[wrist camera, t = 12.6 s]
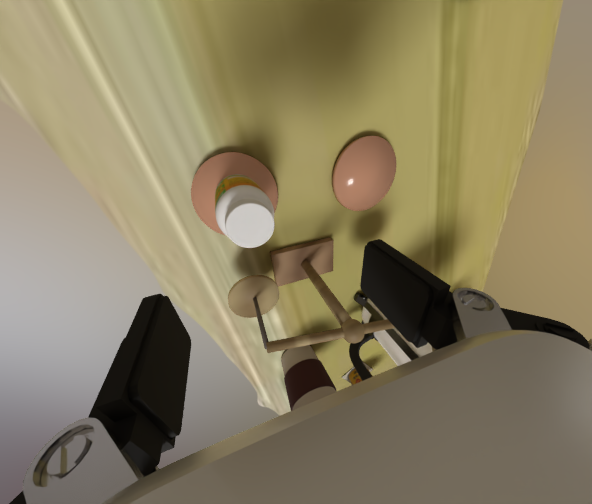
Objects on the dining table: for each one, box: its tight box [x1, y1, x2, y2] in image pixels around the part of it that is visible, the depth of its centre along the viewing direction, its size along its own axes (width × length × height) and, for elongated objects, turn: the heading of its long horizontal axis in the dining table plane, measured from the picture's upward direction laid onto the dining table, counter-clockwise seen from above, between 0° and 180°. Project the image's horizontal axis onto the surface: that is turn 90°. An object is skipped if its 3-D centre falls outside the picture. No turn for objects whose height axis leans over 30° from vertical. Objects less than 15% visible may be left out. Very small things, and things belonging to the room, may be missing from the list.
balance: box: [228, 237, 395, 353], centre depth 27 cm, size 24×7×17 cm, turn 95°
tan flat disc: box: [191, 152, 278, 235], centre depth 26 cm, size 10×10×1 cm
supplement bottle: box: [215, 174, 274, 248], centre depth 21 cm, size 5×5×10 cm
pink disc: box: [332, 136, 396, 211], centre depth 30 cm, size 10×10×1 cm
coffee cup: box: [281, 345, 336, 411], centre depth 40 cm, size 10×10×15 cm
